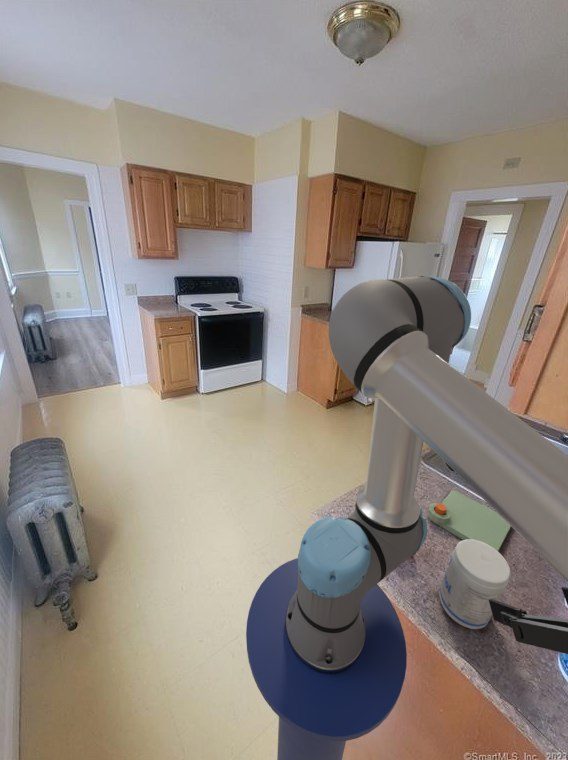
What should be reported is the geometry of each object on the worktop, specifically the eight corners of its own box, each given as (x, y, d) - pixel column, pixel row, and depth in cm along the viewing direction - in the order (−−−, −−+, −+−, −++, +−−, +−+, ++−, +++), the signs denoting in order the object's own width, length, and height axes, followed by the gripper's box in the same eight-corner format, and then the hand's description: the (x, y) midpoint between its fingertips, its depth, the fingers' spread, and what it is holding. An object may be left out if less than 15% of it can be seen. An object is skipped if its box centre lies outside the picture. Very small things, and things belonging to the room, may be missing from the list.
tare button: (433, 511, 87) (434, 506, 87) (437, 506, 89) (438, 501, 88) (442, 517, 86) (444, 512, 85) (446, 511, 87) (448, 507, 87)
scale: (423, 519, 89) (425, 509, 87) (447, 491, 99) (449, 482, 97) (492, 562, 77) (497, 552, 76) (511, 525, 87) (515, 515, 86)
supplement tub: (434, 579, 73) (449, 532, 67) (480, 589, 71) (500, 542, 65) (443, 625, 64) (462, 576, 58) (496, 638, 62) (520, 589, 56)
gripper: (622, 737, 29) (468, 644, 48) (824, 685, 33) (605, 618, 52) (586, 636, 32) (454, 586, 51) (777, 599, 35) (585, 566, 55)
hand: (530, 602), depth 52 cm, fingers open, 13 cm apart
